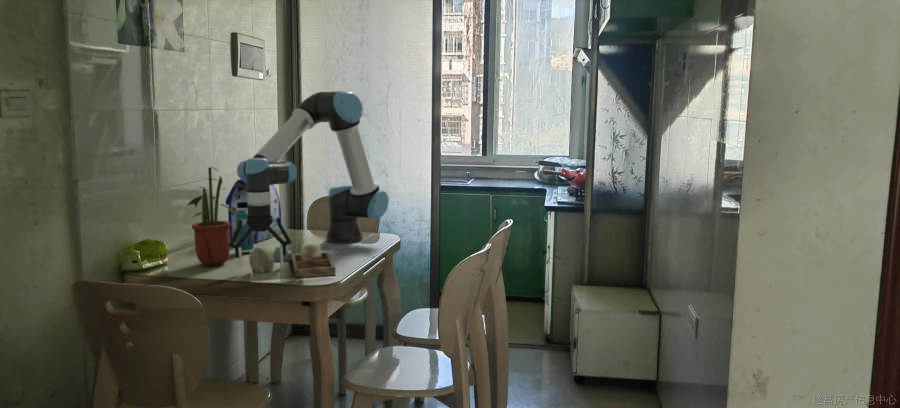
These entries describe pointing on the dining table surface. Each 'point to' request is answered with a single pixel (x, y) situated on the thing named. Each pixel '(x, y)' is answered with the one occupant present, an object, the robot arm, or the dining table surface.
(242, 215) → the beverage bottle
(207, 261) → the potted plant
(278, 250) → the button
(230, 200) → the lunch bag
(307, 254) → the block
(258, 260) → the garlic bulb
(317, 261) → the brown wooden tray
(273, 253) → the button box
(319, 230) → the dining table surface
